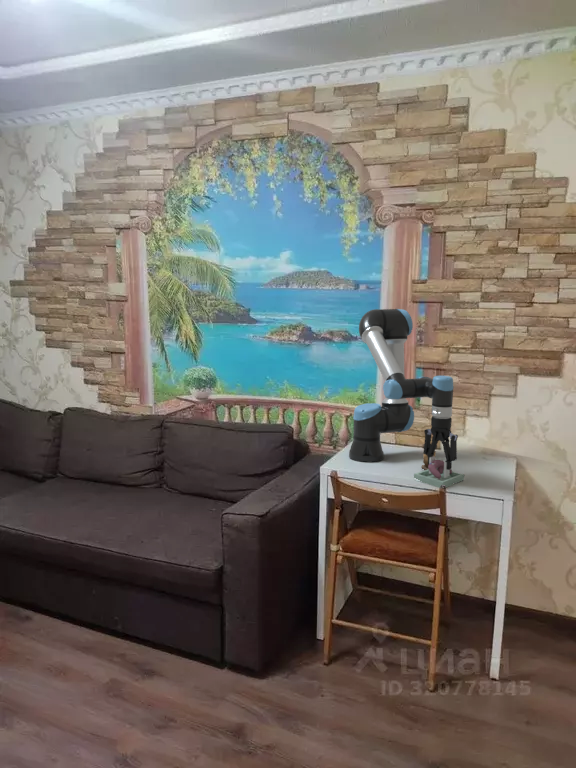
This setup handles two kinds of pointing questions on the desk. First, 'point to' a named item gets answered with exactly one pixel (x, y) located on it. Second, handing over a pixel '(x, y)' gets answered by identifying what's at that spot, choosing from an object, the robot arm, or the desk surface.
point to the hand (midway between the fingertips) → (438, 475)
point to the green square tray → (434, 481)
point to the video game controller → (437, 468)
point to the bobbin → (426, 459)
